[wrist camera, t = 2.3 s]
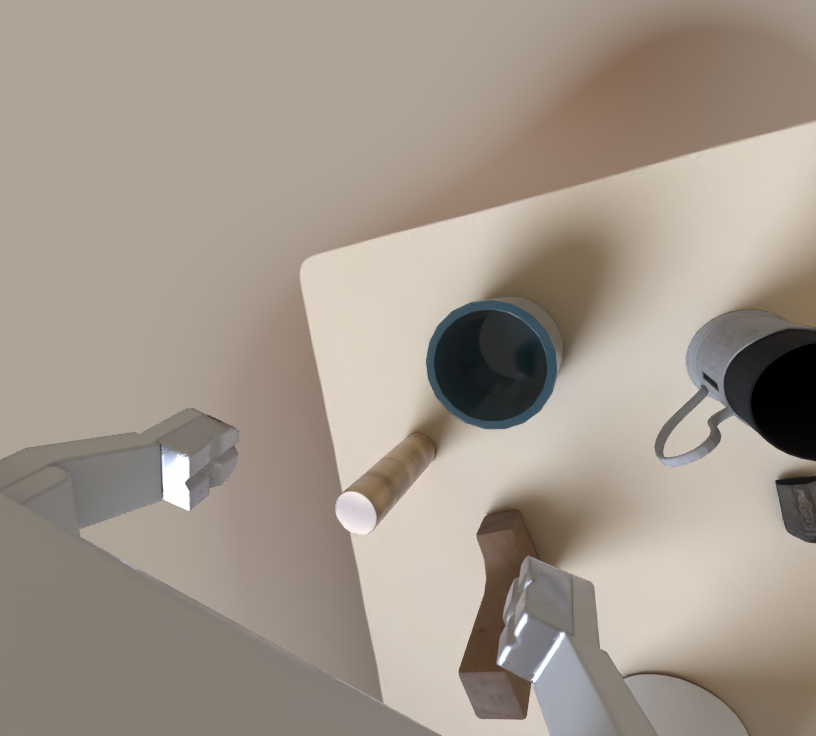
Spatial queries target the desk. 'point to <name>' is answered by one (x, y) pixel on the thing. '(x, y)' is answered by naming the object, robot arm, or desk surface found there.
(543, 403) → the crock
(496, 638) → the wooden block
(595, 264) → the desk surface
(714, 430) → the glass holder
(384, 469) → the rolling pin
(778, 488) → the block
